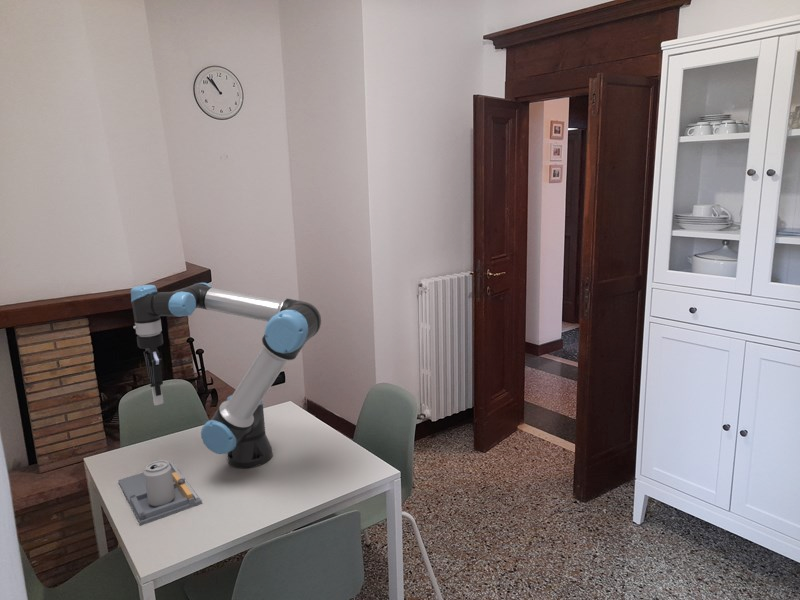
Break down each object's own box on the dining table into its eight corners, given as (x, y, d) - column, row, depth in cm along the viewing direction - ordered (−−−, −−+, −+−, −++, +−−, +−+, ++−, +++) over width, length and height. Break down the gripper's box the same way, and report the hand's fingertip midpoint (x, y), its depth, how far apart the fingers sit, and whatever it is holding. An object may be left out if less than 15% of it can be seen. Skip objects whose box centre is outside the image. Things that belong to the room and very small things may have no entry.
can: (153, 495, 174) (147, 459, 172) (178, 493, 175) (173, 457, 172) (144, 509, 167) (139, 471, 164) (171, 507, 167) (166, 469, 165)
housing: (202, 503, 170) (201, 496, 170) (140, 525, 160) (139, 517, 160) (173, 465, 195) (172, 459, 194) (118, 482, 185) (117, 475, 184)
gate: (194, 500, 170) (192, 490, 170) (187, 502, 169) (186, 492, 168) (178, 478, 184) (176, 468, 183) (171, 480, 183) (170, 470, 182)
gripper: (132, 332, 183) (141, 401, 188) (141, 340, 173) (151, 412, 178) (156, 328, 188) (165, 395, 192) (167, 335, 177) (176, 406, 182)
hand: (158, 403), depth 185 cm, fingers closed
